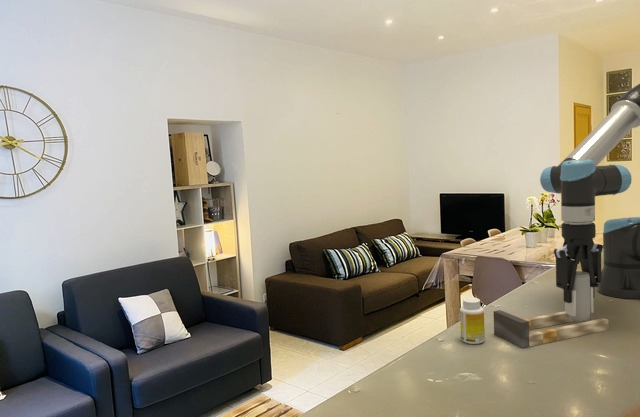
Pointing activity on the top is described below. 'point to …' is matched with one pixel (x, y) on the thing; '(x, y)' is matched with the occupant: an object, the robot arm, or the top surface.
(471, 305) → the supplement bottle
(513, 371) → the top surface
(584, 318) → the beverage can
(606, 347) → the top surface
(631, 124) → the robot arm
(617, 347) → the top surface
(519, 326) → the guide channel
